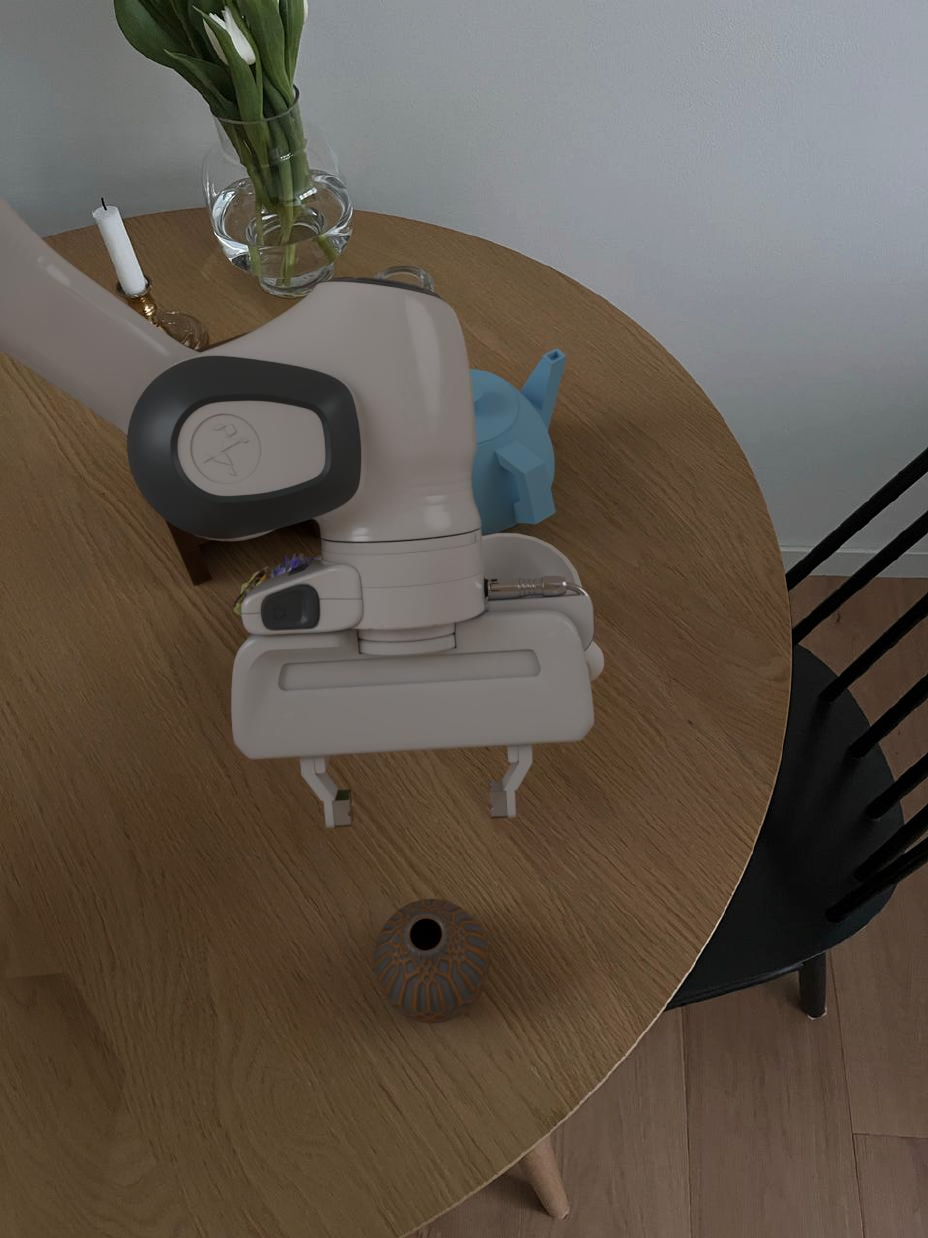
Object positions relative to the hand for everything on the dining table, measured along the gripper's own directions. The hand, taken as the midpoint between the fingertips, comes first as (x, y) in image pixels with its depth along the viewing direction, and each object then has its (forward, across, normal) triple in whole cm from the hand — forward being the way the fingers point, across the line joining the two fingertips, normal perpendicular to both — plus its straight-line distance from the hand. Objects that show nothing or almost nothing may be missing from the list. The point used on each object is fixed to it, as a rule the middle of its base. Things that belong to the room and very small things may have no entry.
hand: (421, 820), depth 61 cm
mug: (-4, -7, -19) cm, 20 cm away
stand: (-16, +15, -30) cm, 38 cm away
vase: (+12, 0, -3) cm, 12 cm away
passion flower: (-5, +8, -20) cm, 22 cm away
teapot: (-17, -4, -32) cm, 36 cm away
